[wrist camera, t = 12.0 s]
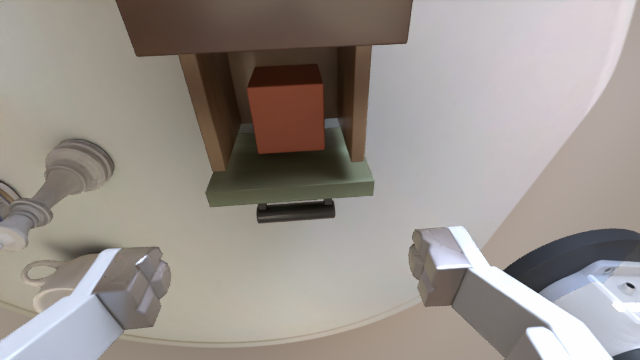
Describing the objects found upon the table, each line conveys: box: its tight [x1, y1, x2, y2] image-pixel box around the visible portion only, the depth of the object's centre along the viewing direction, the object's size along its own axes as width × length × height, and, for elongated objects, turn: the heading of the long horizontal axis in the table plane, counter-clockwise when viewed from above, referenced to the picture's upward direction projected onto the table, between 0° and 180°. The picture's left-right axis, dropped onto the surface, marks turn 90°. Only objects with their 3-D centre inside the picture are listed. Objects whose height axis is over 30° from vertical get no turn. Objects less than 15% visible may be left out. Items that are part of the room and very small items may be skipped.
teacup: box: [21, 254, 99, 314], centre depth 31 cm, size 10×8×5 cm
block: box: [247, 64, 325, 154], centre depth 20 cm, size 4×4×4 cm
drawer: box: [178, 45, 374, 223], centre depth 19 cm, size 17×10×8 cm, turn 2°
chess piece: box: [0, 140, 114, 252], centre depth 21 cm, size 4×4×10 cm
